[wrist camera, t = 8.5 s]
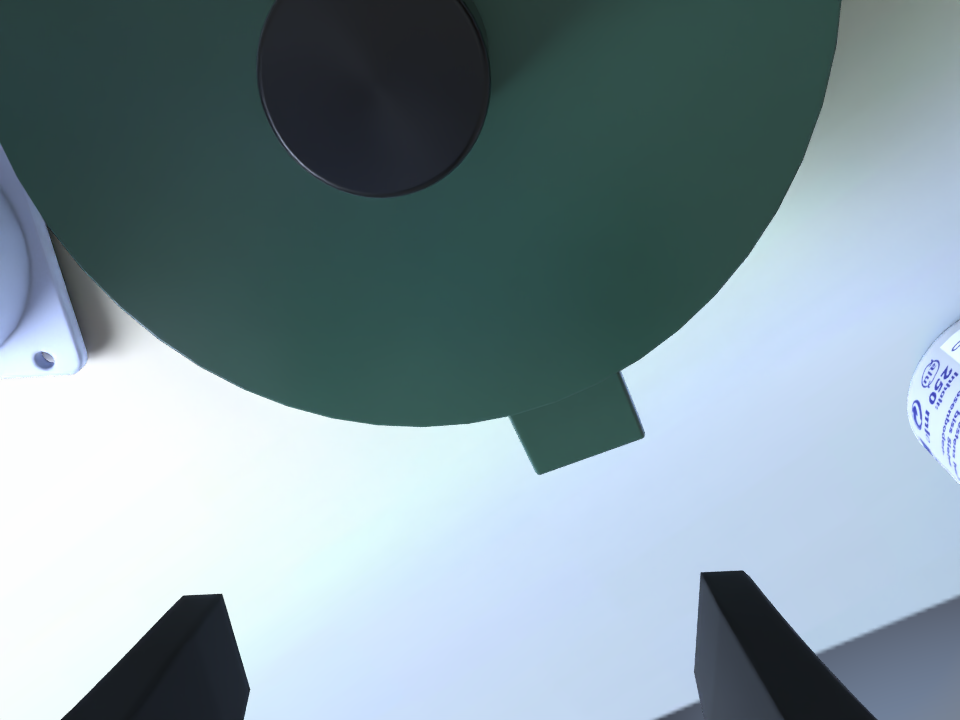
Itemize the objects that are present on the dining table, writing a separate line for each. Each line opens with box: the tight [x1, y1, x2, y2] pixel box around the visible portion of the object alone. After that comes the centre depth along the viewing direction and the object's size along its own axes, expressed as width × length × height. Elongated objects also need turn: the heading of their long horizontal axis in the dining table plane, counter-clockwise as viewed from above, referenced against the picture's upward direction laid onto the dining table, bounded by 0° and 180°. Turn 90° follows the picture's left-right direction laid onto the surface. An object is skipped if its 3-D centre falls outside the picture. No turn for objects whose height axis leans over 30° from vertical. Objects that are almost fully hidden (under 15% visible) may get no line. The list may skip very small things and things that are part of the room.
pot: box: [508, 371, 645, 475], centre depth 15 cm, size 12×17×6 cm
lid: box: [0, 0, 841, 427], centre depth 10 cm, size 13×13×4 cm
